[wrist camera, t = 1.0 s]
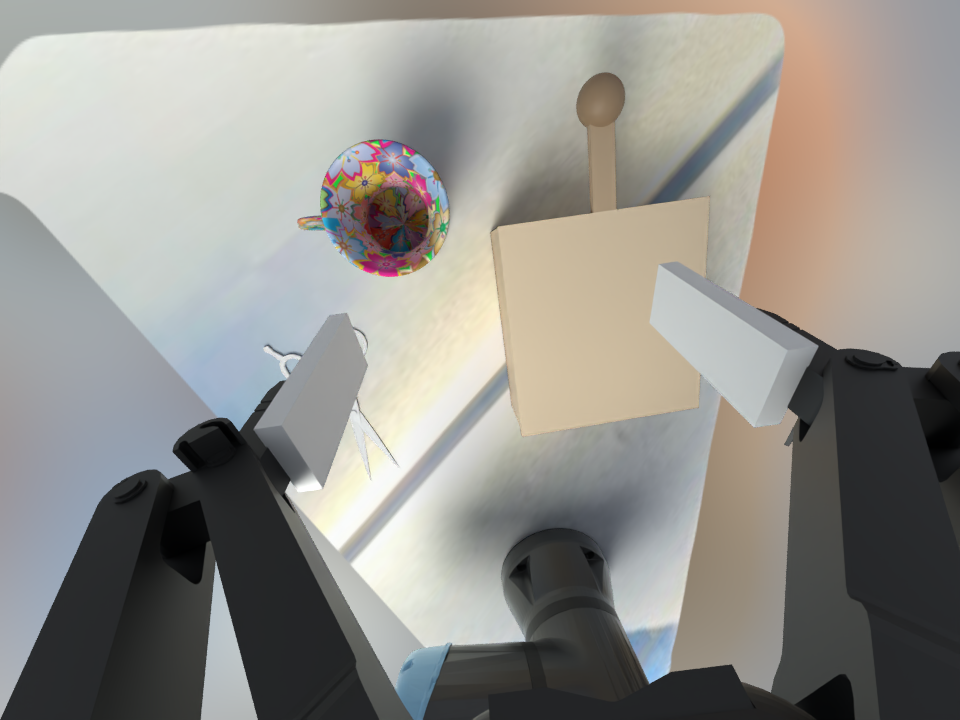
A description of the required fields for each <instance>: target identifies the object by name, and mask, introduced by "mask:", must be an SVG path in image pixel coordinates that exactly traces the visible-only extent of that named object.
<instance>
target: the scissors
mask: <svg viewBox="0 0 960 720" xmlns="http://www.w3.org/2000/svg"><path fill="white" fill-rule="evenodd" d="M354 332H355V334H357V335H358V336H360V337H361V339H362V341H363V344H364V347H363V351H362V352H363V354H364V356H365V354H366V350H367V341H366V339H365V336H364V335H363V334H362V333H361V332H359V331H358V330H355V329H354ZM263 350H264V351H265V352H266V353H269V354H271V355H272V356H274V357H275V358H277V359H278V360H280V361H281V362H280V364H279V365H280V368H281V372H282V373H283V374H284V376H285V377H286V378H288V377H289V375H290V373H289V372H288V370H287V368H286V366H285V365H286V362H287V360H288V359H291V358H295V359H297V360H300V359H301V357H302V356H299V355H296V354H289V355H286V356H282V355H280V354H279V353H277V352H275V351H273V349H272V348H270V347H269V346H266V347H264V349H263ZM349 417H350V421H351V424H352V428H353V431H354V435H355V438H356V441H357V444H358V447H359V450H360V453H361V456H362V458H363V461H364V464H365V467H366V470H367V473H368V475H369V478H370V471H369V465H368V458H367V452H366V447H365V440H364V433H363V431H364V432H365V433H366V434H367V435H368V436H369V437H370V438H371V439H372V441H373V442H374V443H375V444H376V445H377V446H378V447H379V448H380V449H381V450H382V451H383V452H384V453H385V454H386V455H387V456H388V457H389V458H390V459H391V460H392V461H393V462H394V463H395V464H396V462H395V461H394V459H393V458H392V456H391V455H390V453H389V452H388V450H387V449H386V447H385V446H384V444H383V443H382V441H381V440H380V438H379V437H378V435H377V434H376V432H375V431H374V429H373V428H372V427H371V425H370V424H369V423H368V421H367V420H366V418H365V417H364V416H363V414H362V413H361V412H360V411H359V405H358V402H357V398H356V400H355V402H354V405H353V408H352V411H351V413H350V416H349ZM396 465H397V464H396ZM397 466H398V465H397ZM398 468H399V467H398ZM399 469H400V468H399ZM370 480H371V478H370Z"/></svg>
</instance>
